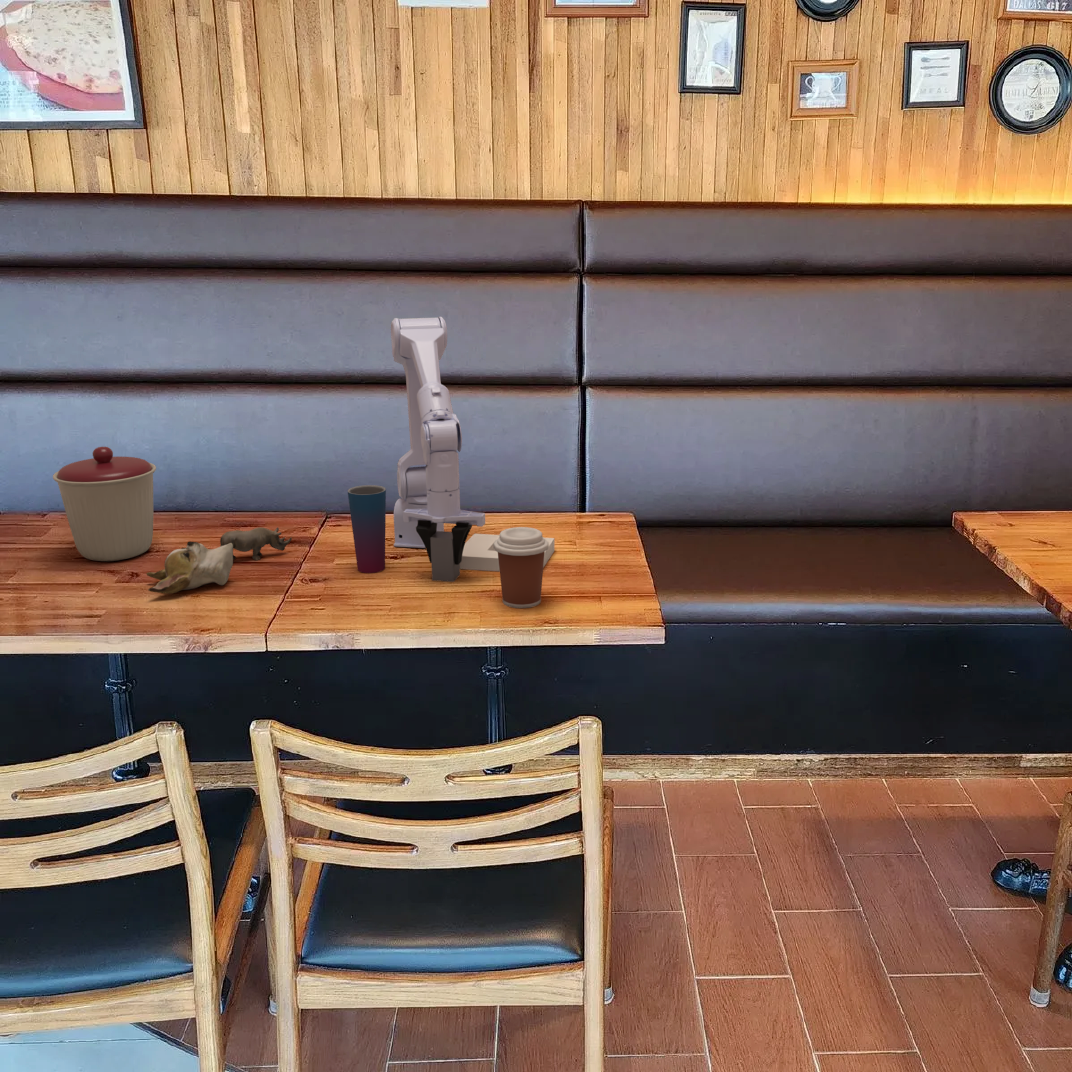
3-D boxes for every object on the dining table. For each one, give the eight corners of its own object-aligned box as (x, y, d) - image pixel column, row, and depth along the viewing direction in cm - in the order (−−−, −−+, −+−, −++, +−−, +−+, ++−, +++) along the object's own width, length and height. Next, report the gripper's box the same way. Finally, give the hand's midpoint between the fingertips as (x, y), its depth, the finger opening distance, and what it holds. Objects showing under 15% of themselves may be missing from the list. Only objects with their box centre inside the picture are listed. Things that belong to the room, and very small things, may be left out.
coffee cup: (509, 615, 163) (508, 544, 159) (485, 597, 171) (484, 529, 167) (558, 605, 167) (558, 536, 163) (533, 588, 175) (532, 522, 171)
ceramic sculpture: (234, 542, 172) (141, 558, 167) (242, 589, 175) (151, 607, 170) (227, 526, 182) (140, 541, 177) (235, 572, 184) (149, 587, 179)
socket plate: (454, 568, 185) (453, 555, 185) (474, 545, 198) (474, 533, 198) (539, 574, 182) (539, 560, 181) (554, 550, 195) (554, 538, 194)
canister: (43, 562, 191) (26, 453, 184) (115, 535, 207) (101, 434, 200) (118, 573, 184) (102, 460, 178) (185, 545, 200) (173, 441, 194)
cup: (397, 565, 187) (393, 487, 183) (376, 576, 181) (371, 496, 177) (366, 560, 190) (361, 483, 185) (345, 571, 184) (339, 492, 180)
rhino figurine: (295, 556, 193) (292, 526, 191) (221, 566, 188) (217, 535, 186) (291, 550, 197) (288, 520, 195) (218, 559, 192) (215, 529, 190)
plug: (432, 580, 179) (430, 537, 177) (438, 573, 183) (437, 531, 181) (453, 581, 178) (452, 538, 176) (460, 574, 182) (458, 532, 180)
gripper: (395, 491, 173) (399, 566, 177) (476, 495, 170) (478, 571, 175) (409, 482, 180) (412, 554, 184) (487, 485, 177) (489, 559, 181)
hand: (445, 562), depth 180 cm, fingers closed on plug, 4 cm apart
